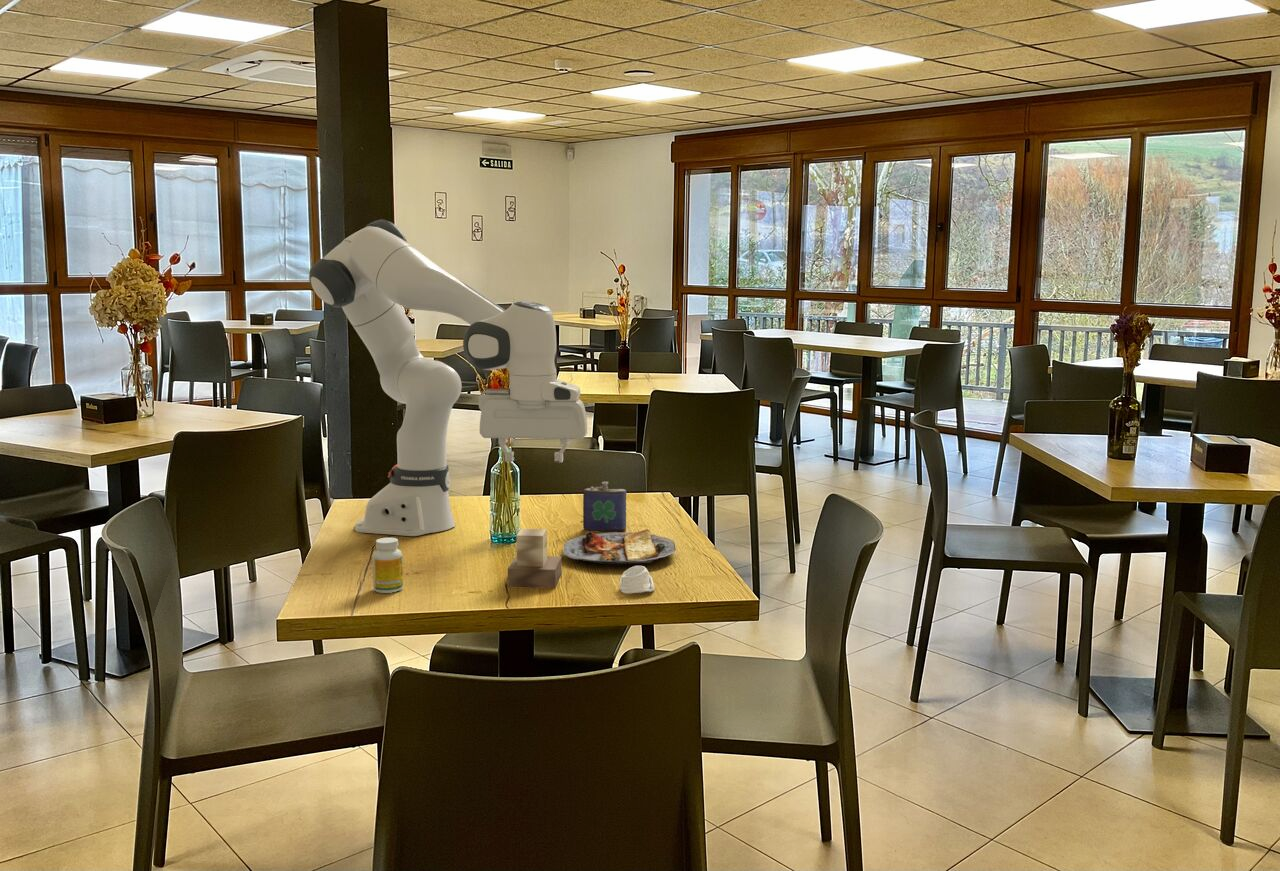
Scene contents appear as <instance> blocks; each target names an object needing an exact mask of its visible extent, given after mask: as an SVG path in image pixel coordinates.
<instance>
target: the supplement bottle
mask: <svg viewBox="0 0 1280 871" xmlns="http://www.w3.org/2000/svg"><path fill="white" fill-rule="evenodd" d="M398 547H399V539H398V538H396V537H382V538H378V539H376V540H375V548H376V550H374V552H373V553H372V580H373V581H372V585H373V591H374V592H375V591H376V593H377V592H378V594H383V593H390V594H393V593H392V592H395V593H397V592H396V591H399V590H400V591H402V590H403V588H404V582H403V581H404V579H403V578H404V576H403V575H404V574H403V573H404V572H403V553H402V551H401V550H400V549H399V548H398ZM401 589H402V590H401ZM400 591H399V592H400Z"/></svg>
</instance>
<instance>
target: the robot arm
mask: <svg viewBox="0 0 1280 871" xmlns="http://www.w3.org/2000/svg"><path fill="white" fill-rule="evenodd" d="M308 273H309V274H308V275H309V276H308V281H309V283H310V286H311V288H312V289H313V292H314V293H315V294H316V295H317V297H318V298H319V299H320V300H321V301H323V302H324V303H325V304H326V305H328V306H330V307H333V308H338V309H339V308H341V309H342V310H343V313H344V314H345V317H346V318H347V319H348V321H349V323H350V324H351V325H352V327H353V329H354V330H355V332H356V333H357V335H358V336H359V338H360V340H362V343H363V344H364V345H365V347H366V349H367V350H368V352H369V353H370V355H371V357H372V359H373V361H374V364H375V367H376V369H377V371H378V374H379V381H380V385H381V388H382V390H383V392H384V393H385V394H386V395H387V396H389V397H390V398H391V399H393V400H394V401H396V402H397V403H400V404H405V413H404V418H403V421H402V423H401V424H402V425H401V427H400V428H399V429H398V431H397V433H396V452H397V454H396V455H397V457H396V458H397V460H396V461H397V464H395V465H394V466H392V467H391V469H390V470H389V472H388V473H387V474H388V475H387V478H389V481H390V482H389V483H388V484H387V485H386V486H384V487H383V488H382V489H381V490H379V491H378V492H377V493H376V494H375V495H373V496H372V497H371V498H370V499H369V500H368V502H367V504H366V506H365V512H364V517H363V518H361V519H360V520H358V521H356V523H355V525H354V530H355V532H356V533H366V534H367V533H368V534H380V535H394V536H403V537H404V536H405V537H406V536H407V537H417V536H422V535H426V534H430V533H439V532H443V531H447V530H450V529H452V528H453V527H455V526H456V522H455V519H454V515H453V513H452V509H451V508H452V507H451V504H450V503H451V502H450V496H449V494H450V493H449V489H450V485H451V484H450V483H451V482H450V472H449V465H448V464H447V432H448V427H449V426H448V425H449V420H450V416H451V412H452V409H453V406H454V405H455V403H456V402H457V401H458V400H459V398H460V395H461V393H462V388H463V387H462V385H463V384H462V380H461V377H460V375H459V374H458V372H457V371H456V370H455V369H454V368H452V367H451V366H450V365H448V364H446V363H444V362H442V361H440V360H434V359H428V358H426V357H425V356H423V355H422V353H421V351H420V350H419V347H418V345H417V342H416V339H415V328H414V325H413V323H412V322H411V321H410V319H409V317H408V316H407V314H406V313H405V311H404V310H403V309H402V307H404V308H406V309H408V310H416V311H427V312H437V313H444V314H448V315H451V316H454V317H456V318H459V319H460V320H462V321H464V322H465V323H467V324H468V325H469V326H468V327H467V329H466V331H465V333H464V336H463V340H462V347H463V352H464V356H465V357H466V359H467V360H468V363H469V364H471V365H472V366H473V367H474V368H476V369H479V370H484V371H494V370H502V369H508V372H509V373H508V374H509V376H508V377H509V388H498V389H496V388H487V389H485V390H484V391H482V392H481V393H480V394H479V396H478V409H479V410H480V418H479V434H480V436H482V438H484V439H498V445H499V447H500V448H501V450H502V452H503V453H504V462H505V463H511V462H512V463H513V462H514V461H515V457H514V454H515V452H514V450H513V451H510V449H509V448H508V445H507V443H508V442H509V440H508V439H521V440H522V439H524V440H526V439H527V440H528V439H529V440H531V439H535V440H538V439H539V440H545V439H546V440H559V443H560V444H559V445H561V446H562V447H561V448H560V450H559V451H555V452H554V455H553V456H554V461H553V462H554V463H558V464H560V463H563V461H564V452H565V451H566V449H567V447H568V446H569V443H570V440H583V439H584V438H585V437H586V436H587V434H588V419H587V412H586V408H585V404H584V402H583V401H582V400H581V399H579V398H580V397H581V387H580V386H578V385H575V384H572V383H569V382H566V381H563V380H560V379H557V377H558V376H557V372H558V371H557V368H556V364H555V359H556V354H557V330H556V322H555V317H554V313H553V311H552V310H551V308H549V307H548V306H546V305H545V304H542V303H538V302H533V301H532V302H529V301H516V302H514V303H512V304H511V305H510V306H509V307H508V308H507V309H505V308H503V307H501V306H500V305H499V304H497V303H495V302H494V301H492V300H490V299H489V298H487V297H486V296H484V295H483V294H482V293H481V292H478V291H477V290H476V289H474V288H472V287H471V286H469V285H468V284H466V283H465V282H462V281H461V280H459V279H458V278H457V277H456V276H454V275H452V274H451V273H449V272H447V271H446V270H445V269H443V268H442V267H441V266H439V265H438V264H436V263H435V262H434V261H433V260H431V259H430V258H429V257H427V256H426V255H424V254H423V253H422V252H421V251H420V250H418V249H417V248H415V246H413V245H411V244H410V243H409V242H408V241H407V238H406V236H405V235H404V233H403V232H402V231H401V229H400V228H399V227H397V225H395V224H394V223H393V222H392V221H389V220H387V219H383V218H382V219H378V220H374V221H372V222H370V223H367V224H366V226H365V227H363V228H361V229H360V230H358V231H356V232H354V233H352V234H351V235H349V236H347V237H345V238H344V239H343V240H342V241H341V242H340V243H339V244H338V245H336V246H335V247H334V248H333V249H331V250H330V251H329V252H328V253H327V254H326V255H324V256H323V258H319V259H318V260H317V261H316V262H315V263H314V264H313V266H311V268H310V270H309V272H308Z"/></svg>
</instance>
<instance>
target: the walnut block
mask: <svg viewBox="0 0 1280 871" xmlns="http://www.w3.org/2000/svg"><path fill="white" fill-rule="evenodd" d="M562 558H563V557H562V556H550V555H549V556H548V555H547V560H546V562H545V564H544V566H543V567H536V566H517V555H515V557H514V558H513V559H512V561H511V563H510V565H509V566H508V568H507V588H519V589H520V588H523V589H524V588H525V589H532V588H533V589H556V588H557V586H558V583H559V582H558V581H560V580H559V579H561V577H562V575H563V574H562V573H563V572H562V571H563V570H562V569H563V568H562V566H563V565H562V562H563V560H562Z"/></svg>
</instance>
